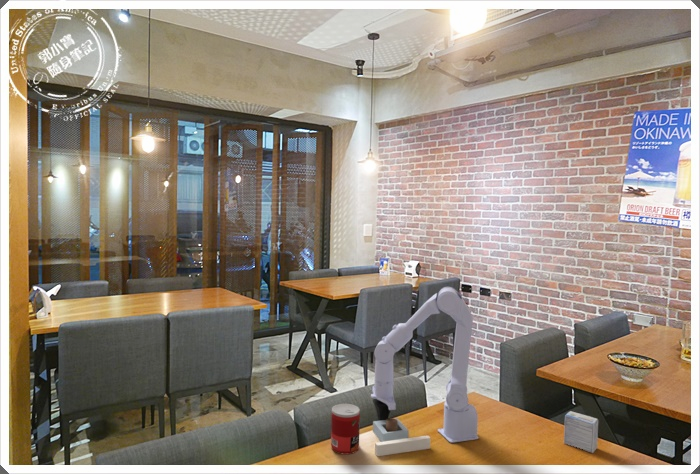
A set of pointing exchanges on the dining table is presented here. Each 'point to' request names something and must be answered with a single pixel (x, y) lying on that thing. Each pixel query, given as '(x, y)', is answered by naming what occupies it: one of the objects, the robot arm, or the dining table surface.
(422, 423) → the dining table surface
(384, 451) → the bar
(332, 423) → the canned food
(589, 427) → the medicine box
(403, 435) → the block
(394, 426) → the dowel
